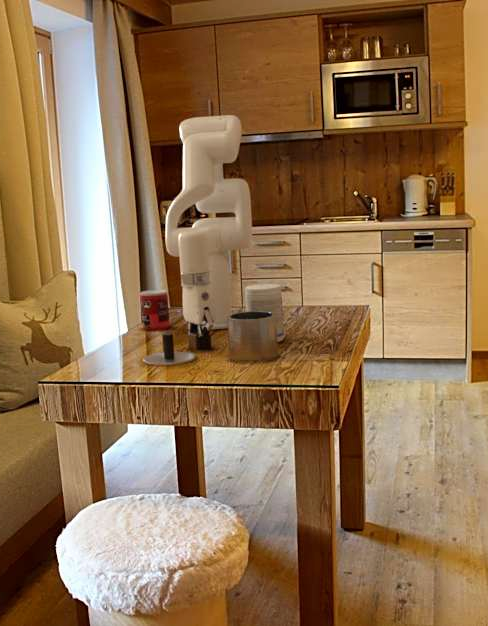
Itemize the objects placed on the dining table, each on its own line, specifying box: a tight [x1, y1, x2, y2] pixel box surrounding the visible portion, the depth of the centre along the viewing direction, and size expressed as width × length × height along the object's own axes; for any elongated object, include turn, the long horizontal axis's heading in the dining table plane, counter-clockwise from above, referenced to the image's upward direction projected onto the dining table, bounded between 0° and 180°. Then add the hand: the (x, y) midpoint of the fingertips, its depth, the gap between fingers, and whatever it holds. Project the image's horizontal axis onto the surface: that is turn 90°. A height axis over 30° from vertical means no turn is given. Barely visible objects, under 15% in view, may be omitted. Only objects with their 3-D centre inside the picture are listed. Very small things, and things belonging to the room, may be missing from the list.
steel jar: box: [227, 310, 279, 362], centre depth 200 cm, size 12×12×10 cm
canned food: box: [139, 289, 170, 332], centre depth 245 cm, size 8×8×11 cm
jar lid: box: [142, 332, 196, 367], centre depth 202 cm, size 13×13×7 cm
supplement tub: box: [244, 283, 285, 343], centre depth 218 cm, size 10×10×15 cm
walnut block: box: [187, 331, 212, 351], centre depth 213 cm, size 4×4×4 cm
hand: (200, 348), depth 214 cm, fingers closed on walnut block, 4 cm apart
